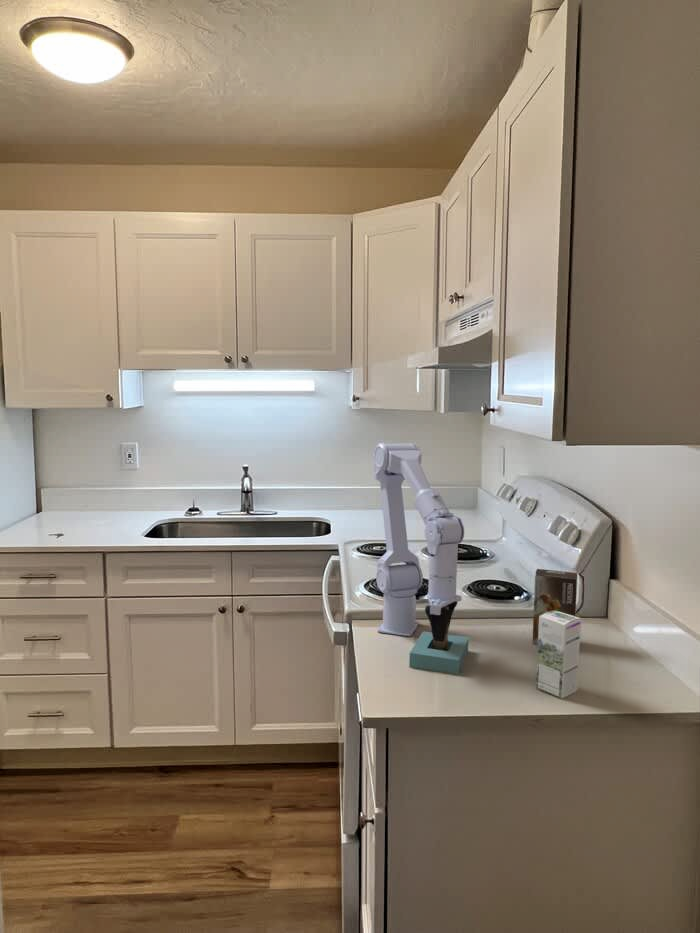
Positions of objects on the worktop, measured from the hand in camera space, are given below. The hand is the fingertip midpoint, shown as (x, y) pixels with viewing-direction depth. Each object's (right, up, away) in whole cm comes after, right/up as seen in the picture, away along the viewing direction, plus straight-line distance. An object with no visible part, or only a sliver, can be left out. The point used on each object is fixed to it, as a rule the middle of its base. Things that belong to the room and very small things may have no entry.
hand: (440, 637), depth 134 cm
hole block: (0, -5, 0) cm, 5 cm away
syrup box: (+20, -7, -13) cm, 25 cm away
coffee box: (+27, -4, +11) cm, 30 cm away
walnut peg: (0, -3, 0) cm, 3 cm away
